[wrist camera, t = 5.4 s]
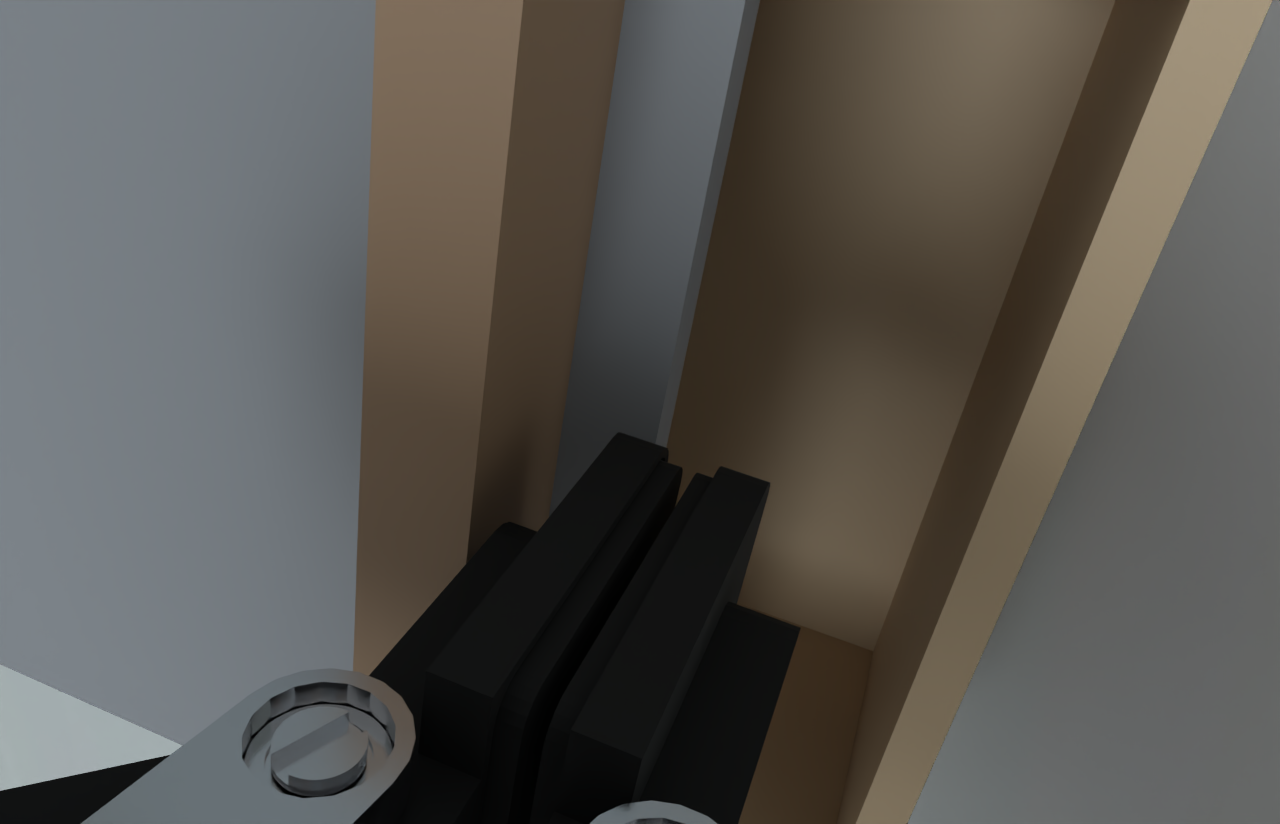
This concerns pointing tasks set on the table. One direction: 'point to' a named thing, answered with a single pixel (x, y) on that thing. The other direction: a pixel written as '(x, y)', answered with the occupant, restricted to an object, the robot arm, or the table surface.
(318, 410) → the lid
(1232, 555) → the table surface
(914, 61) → the tray
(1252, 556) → the table surface
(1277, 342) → the table surface
